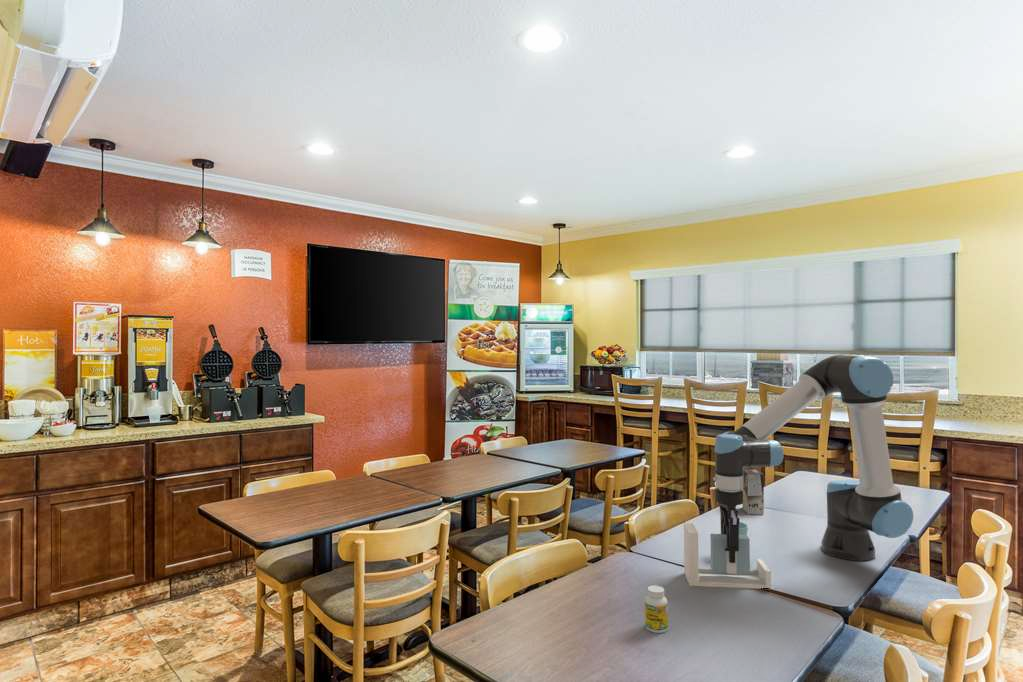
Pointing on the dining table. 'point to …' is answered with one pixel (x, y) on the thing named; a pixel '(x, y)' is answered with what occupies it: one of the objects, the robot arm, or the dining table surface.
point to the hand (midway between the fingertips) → (729, 569)
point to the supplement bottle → (656, 610)
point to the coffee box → (753, 491)
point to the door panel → (720, 554)
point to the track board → (710, 579)
